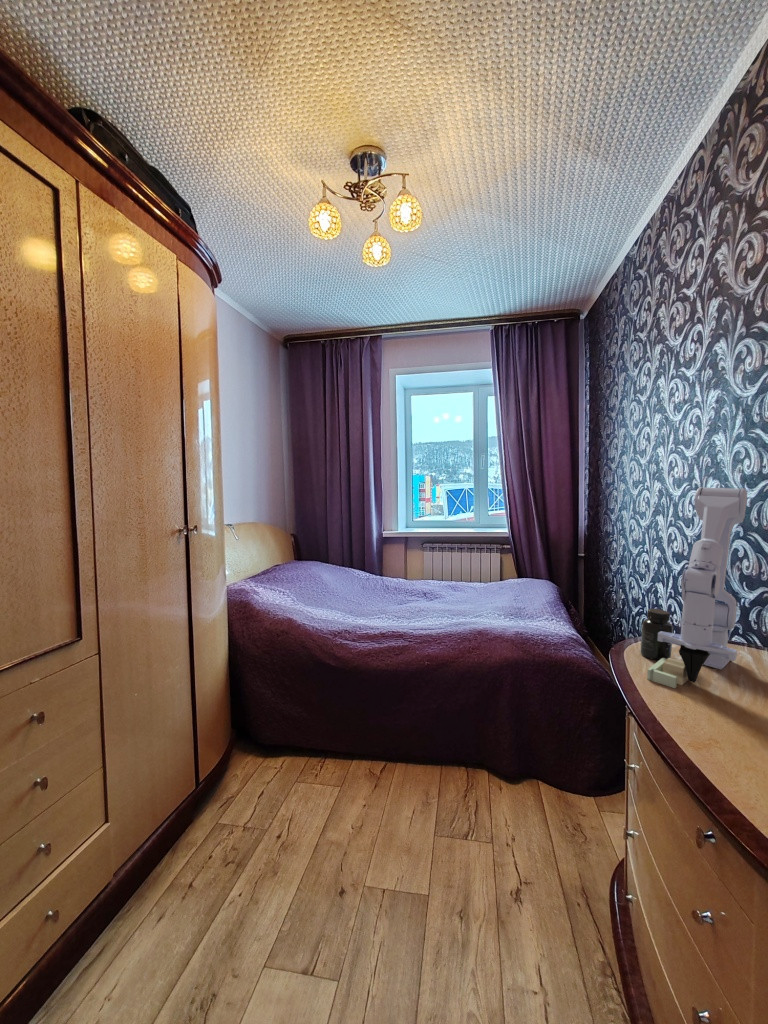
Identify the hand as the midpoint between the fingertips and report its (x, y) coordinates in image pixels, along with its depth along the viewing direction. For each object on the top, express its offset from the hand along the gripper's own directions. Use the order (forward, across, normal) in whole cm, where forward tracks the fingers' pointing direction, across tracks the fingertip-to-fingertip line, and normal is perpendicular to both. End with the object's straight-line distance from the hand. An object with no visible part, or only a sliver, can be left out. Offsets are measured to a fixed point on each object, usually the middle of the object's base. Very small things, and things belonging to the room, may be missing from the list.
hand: (692, 680), depth 101 cm
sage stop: (+1, -4, 0) cm, 5 cm away
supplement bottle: (+1, -11, +11) cm, 16 cm away
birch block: (+1, -3, 0) cm, 4 cm away
